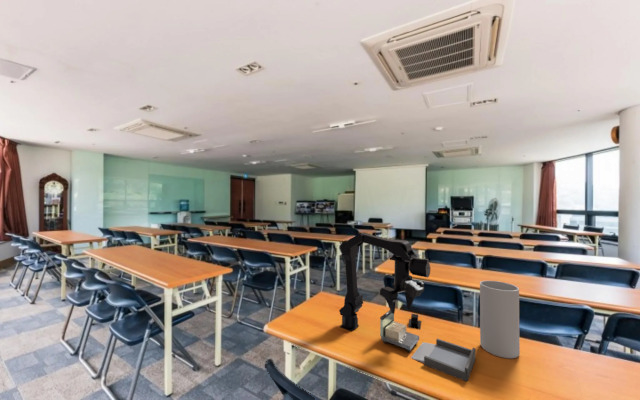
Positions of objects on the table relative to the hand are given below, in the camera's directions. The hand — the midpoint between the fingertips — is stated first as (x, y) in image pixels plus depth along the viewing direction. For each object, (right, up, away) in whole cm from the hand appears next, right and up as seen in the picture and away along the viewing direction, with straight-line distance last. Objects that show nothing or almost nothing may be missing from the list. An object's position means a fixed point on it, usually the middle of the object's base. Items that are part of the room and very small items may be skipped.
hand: (401, 311), depth 102 cm
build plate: (+12, -15, +18) cm, 26 cm away
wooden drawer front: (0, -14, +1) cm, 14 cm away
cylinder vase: (+37, -14, -3) cm, 40 cm away
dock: (+12, -15, -9) cm, 21 cm away
